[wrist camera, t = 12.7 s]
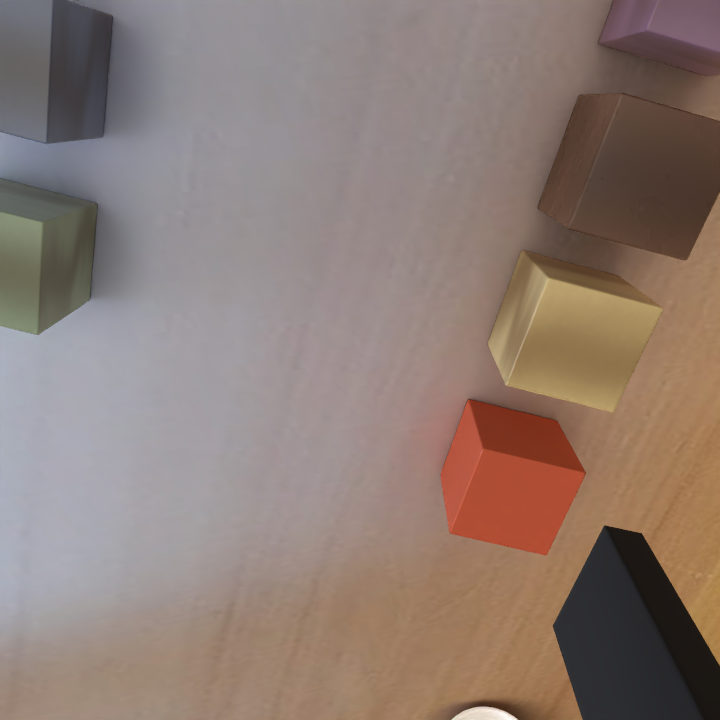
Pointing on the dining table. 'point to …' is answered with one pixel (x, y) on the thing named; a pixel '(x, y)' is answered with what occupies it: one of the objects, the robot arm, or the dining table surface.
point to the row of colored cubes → (615, 214)
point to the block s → (509, 478)
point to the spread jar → (484, 714)
